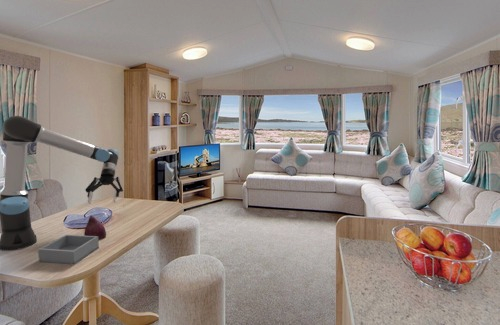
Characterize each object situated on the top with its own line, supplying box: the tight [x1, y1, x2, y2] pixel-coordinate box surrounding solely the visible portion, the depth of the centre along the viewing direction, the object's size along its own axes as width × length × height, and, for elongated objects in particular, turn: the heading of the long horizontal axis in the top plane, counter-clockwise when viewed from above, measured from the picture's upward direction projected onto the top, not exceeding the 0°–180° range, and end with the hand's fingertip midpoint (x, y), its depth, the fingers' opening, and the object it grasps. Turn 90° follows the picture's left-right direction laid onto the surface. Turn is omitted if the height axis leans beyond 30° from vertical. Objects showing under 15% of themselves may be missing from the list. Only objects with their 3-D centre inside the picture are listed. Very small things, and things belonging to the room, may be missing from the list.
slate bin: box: [37, 234, 100, 266], centre depth 136 cm, size 17×17×6 cm
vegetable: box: [83, 215, 107, 242], centre depth 154 cm, size 10×10×15 cm
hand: (101, 202), depth 165 cm, fingers open, 13 cm apart
